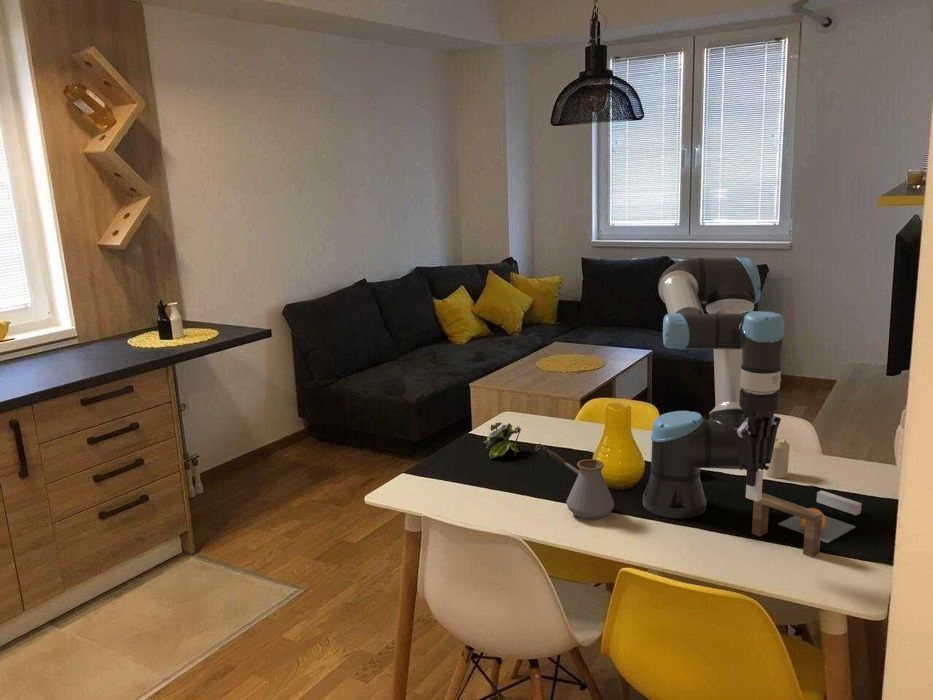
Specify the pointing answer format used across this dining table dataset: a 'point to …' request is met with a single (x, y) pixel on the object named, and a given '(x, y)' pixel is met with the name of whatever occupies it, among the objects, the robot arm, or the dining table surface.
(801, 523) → the ball
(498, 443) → the green leafy plant
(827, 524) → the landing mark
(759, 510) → the bridge
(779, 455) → the candle
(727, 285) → the robot arm
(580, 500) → the coffee pot
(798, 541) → the dining table surface
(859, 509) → the wall
